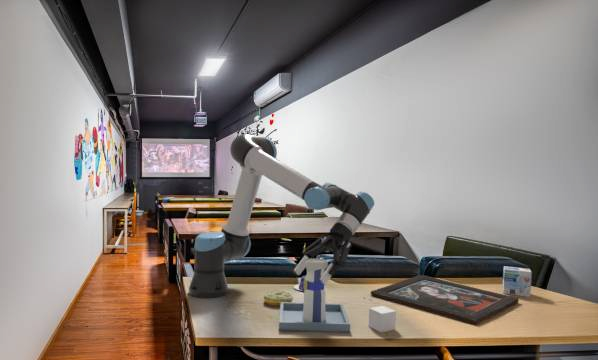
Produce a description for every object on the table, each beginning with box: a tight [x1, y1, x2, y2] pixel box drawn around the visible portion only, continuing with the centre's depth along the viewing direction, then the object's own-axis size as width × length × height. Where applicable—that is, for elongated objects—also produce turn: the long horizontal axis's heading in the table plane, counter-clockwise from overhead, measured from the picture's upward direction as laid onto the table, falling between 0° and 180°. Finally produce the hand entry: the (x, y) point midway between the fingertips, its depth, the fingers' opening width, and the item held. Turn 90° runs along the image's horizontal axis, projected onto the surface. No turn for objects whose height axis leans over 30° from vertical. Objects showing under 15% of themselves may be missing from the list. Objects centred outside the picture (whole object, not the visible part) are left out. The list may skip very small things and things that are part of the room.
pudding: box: [293, 275, 306, 292], centre depth 178 cm, size 12×12×5 cm
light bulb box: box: [502, 265, 533, 298], centre depth 182 cm, size 11×7×11 cm, turn 68°
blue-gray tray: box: [278, 301, 351, 334], centre depth 140 cm, size 22×20×3 cm
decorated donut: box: [263, 290, 294, 307], centre depth 158 cm, size 10×11×4 cm
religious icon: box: [370, 274, 519, 326], centre depth 170 cm, size 40×45×3 cm
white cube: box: [368, 305, 397, 333], centre depth 136 cm, size 6×6×6 cm
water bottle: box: [302, 244, 329, 322], centre depth 140 cm, size 8×8×25 cm
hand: (308, 277), depth 138 cm, fingers open, 13 cm apart
